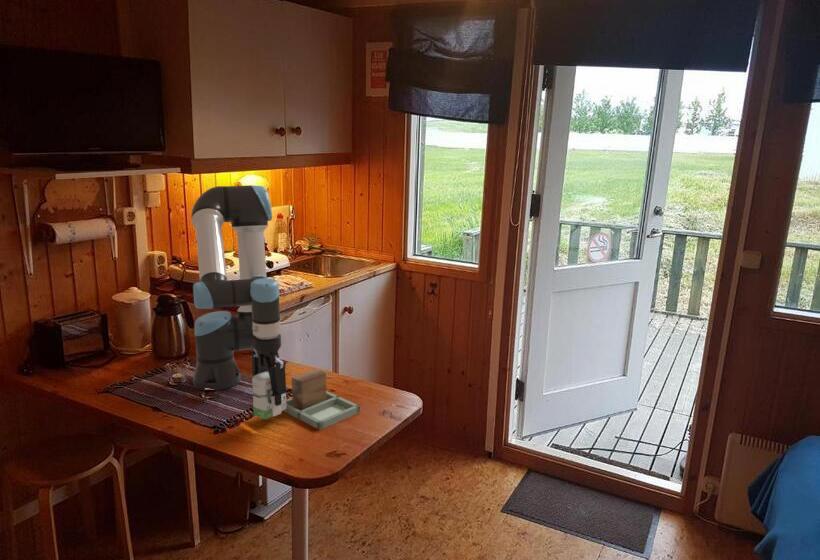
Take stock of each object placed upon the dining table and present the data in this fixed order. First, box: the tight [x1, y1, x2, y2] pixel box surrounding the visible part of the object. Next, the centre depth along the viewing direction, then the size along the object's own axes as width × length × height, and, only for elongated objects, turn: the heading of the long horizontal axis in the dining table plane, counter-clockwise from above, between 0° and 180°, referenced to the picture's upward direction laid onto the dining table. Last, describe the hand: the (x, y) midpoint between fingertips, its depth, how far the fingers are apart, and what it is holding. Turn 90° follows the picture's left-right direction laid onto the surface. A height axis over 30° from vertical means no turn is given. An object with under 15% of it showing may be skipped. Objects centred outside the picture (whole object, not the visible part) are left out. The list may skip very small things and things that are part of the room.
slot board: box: [282, 390, 361, 431], centre depth 180 cm, size 19×15×3 cm
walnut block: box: [291, 368, 327, 411], centre depth 181 cm, size 5×9×10 cm, turn 138°
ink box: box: [251, 371, 287, 420], centre depth 171 cm, size 9×5×12 cm, turn 146°
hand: (270, 410), depth 173 cm, fingers closed on ink box, 5 cm apart
